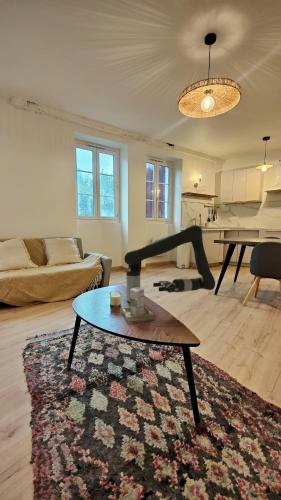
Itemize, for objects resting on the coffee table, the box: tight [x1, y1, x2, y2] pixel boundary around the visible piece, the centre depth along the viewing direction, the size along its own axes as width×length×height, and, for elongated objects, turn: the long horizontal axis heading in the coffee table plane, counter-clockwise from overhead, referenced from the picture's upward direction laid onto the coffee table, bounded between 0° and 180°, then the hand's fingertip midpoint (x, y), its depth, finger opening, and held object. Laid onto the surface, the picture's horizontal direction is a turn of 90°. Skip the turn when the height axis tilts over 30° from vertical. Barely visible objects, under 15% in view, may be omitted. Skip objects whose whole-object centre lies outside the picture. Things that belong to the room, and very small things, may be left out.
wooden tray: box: [121, 304, 154, 324], centre depth 121 cm, size 14×14×3 cm
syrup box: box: [129, 287, 145, 316], centre depth 120 cm, size 6×6×14 cm
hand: (155, 287), depth 122 cm, fingers open, 8 cm apart
